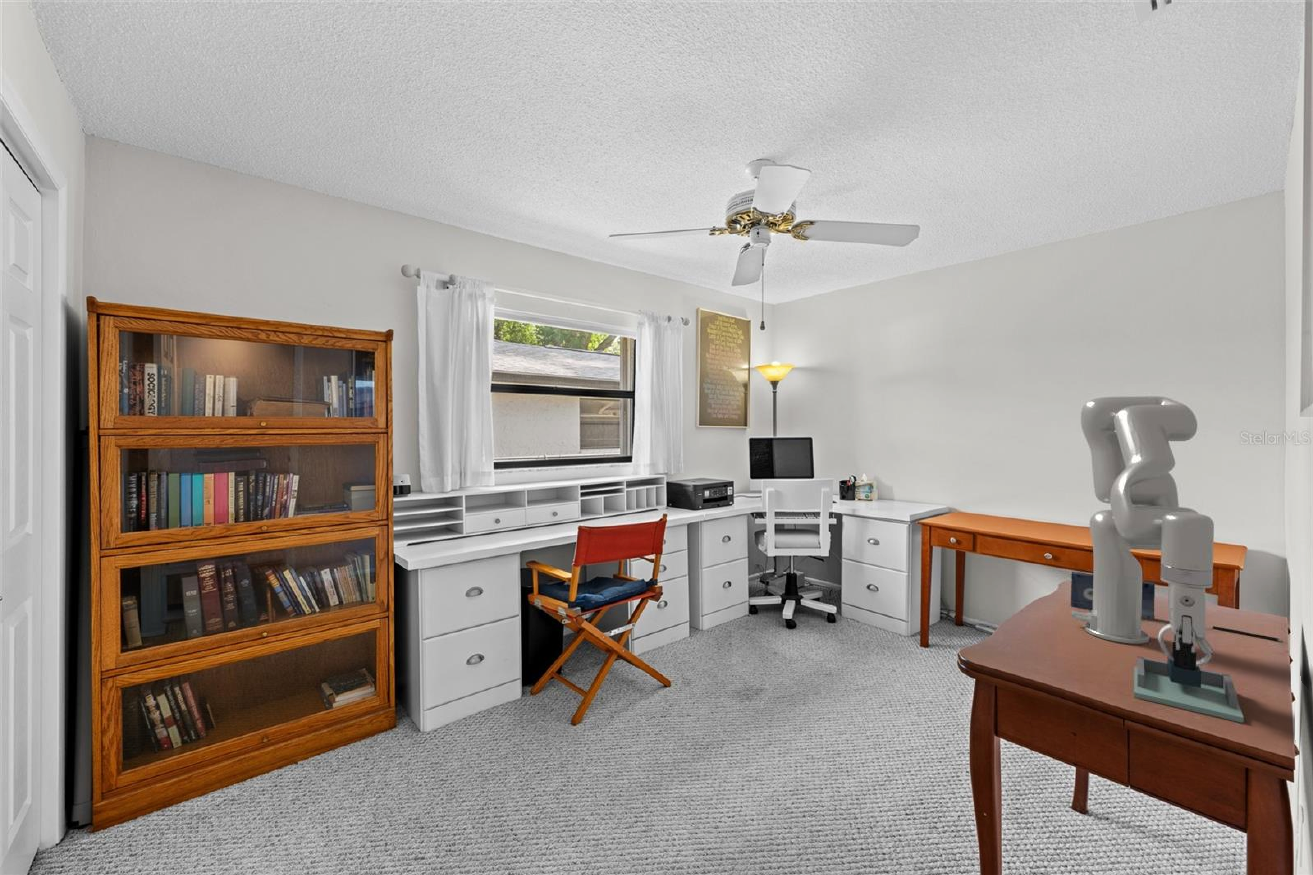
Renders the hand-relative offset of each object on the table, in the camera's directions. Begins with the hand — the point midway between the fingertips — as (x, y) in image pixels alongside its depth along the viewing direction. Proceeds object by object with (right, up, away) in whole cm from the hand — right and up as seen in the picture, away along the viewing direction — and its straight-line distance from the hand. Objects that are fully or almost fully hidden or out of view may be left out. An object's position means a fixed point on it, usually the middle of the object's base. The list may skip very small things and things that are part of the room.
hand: (1183, 666), depth 113 cm
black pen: (+43, -5, +30) cm, 53 cm away
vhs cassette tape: (+23, -4, +47) cm, 52 cm away
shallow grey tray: (-1, -5, -1) cm, 5 cm away
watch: (0, -3, 0) cm, 3 cm away
